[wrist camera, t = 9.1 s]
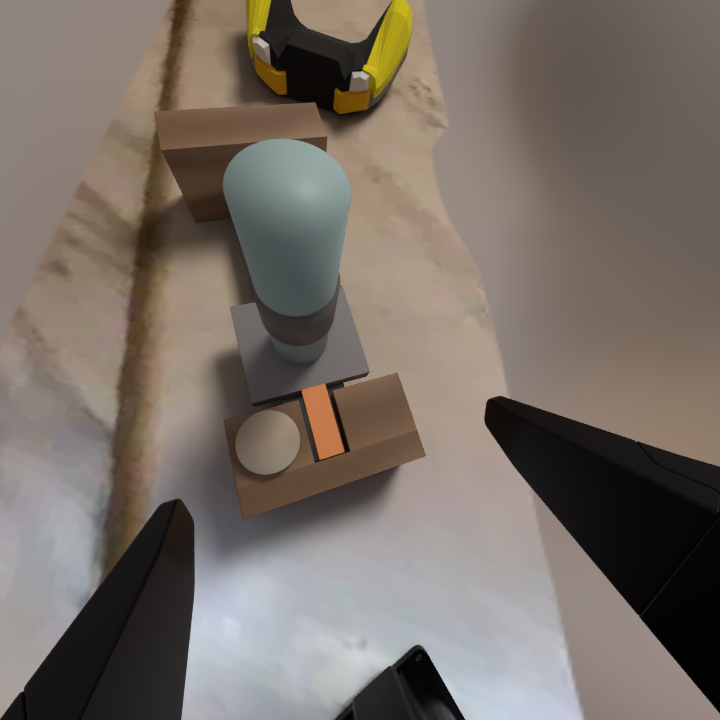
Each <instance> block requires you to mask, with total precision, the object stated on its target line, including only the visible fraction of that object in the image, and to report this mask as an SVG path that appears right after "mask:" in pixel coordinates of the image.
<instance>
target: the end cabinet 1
mask: <svg viewBox="0 0 720 720" xmlns="http://www.w3.org/2000/svg"><path fill="white" fill-rule="evenodd" d="M154 115H155V120H156V125H157V130H158V135H159V141H160V146H161V150H162V153H163V155H164V157H165V159H166V161H167V163H168V165H169V167H170V169H171V171H172V173H173V175H174V177H175V179H176V181H177V183H178V185H179V188H180V190H181V192H182V194H183V196H184V198H185V200H186V202H187V204H188V206H189V208H190V210H191V212H192V214H193V216H194V218H195V220H196V222H200V221H208V220H215V219H223V218H230V217H231V214H230V211H229V208H228V205H227V202H226V199H225V196H224V191H223V179H224V174H225V171H226V169H227V167H228V165H229V163H230V162H231V160H232V159H233V158H234V157H235V156H236V155H237V154H238V153H239V152H240V151H242V150H243V149H245V148H246V147H248V146H250V145H252V144H255V143H258V142H261V141H265V140H271V139H292V140H298V141H302V142H305V143H308V144H311V145H314V146H316V147H318V148H320V149H321V150H323V151H325V152H326V149H327V134H326V131H325V129H324V126H323V123H322V120H321V117H320V114H319V112H318V109H317V106H316V103H315V102H313V103H296V104H278V105H261V106H243V107H226V108H208V109H191V110H173V111H156V112H154Z"/></svg>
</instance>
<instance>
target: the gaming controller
mask: <svg viewBox="0 0 720 720" xmlns="http://www.w3.org/2000/svg"><path fill="white" fill-rule="evenodd" d="M246 15H247V34H248V45H249V52H250V58H251V63H252V66H253V68H254V69H255V70H256V73H257V74H258V76H259V77H260V78H261V79H262V80H263V81H264V82H265V83H266V84H267V85H268V86H269V87H270V88H271V89H272V90H273V91H275V92H276V93H277V94H279V95H284V94H287V96H290V97H293V98H296V99H300V100H303V101H306V102H309V103H313V102H315V103H316V105H318V106H322V107H325V108H328V109H331V110H335V111H336V112H337V113H338V114H345V113H349V112H358V111H366V110H367V109H368V108H369V107H371V106H373V105H374V104H376V103H377V102H378V101H379V100H380V98H381V97H382V96H383V95H384V94H385V92H386V91H387V90H388V89H389V88H390V86H391V84H392V82H393V80H394V79H395V77H396V75H397V73H398V71H399V69H400V68H401V66H402V64H403V62H404V60H405V58H406V55H407V51H408V47H409V42H410V38H411V32H412V21H413V20H412V14H411V8H410V4H408V3H407V2H406V1H404V0H392V1H391V3H390V4H389V6H388V7H387V9H386V10H385V12H384V13H383V15H382V16H381V18H380V19H379V21H378V22H377V24H376V25H375V27H374V28H373V30H372V32H371V33H370V35H369V36H368V38H367V39H366V40H363V41H361V42H359V43H349V42H346V41H343V40H340V39H337V38H334V37H331V36H328V35H325V34H322V33H319V32H316V31H313V30H311V29H308V28H306V27H305V26H304V25H303V24H301V23H300V22H299V20H298V19H297V17H296V16H295V15H294V12H293V8H292V4H291V0H246Z"/></svg>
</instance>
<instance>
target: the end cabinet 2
mask: <svg viewBox="0 0 720 720" xmlns="http://www.w3.org/2000/svg"><path fill="white" fill-rule="evenodd" d="M331 399H332V402H333V406H334V409H335V413H336V416H337V420H338V423H339V427H340V430H341V434H342V437H343V441H344V444H345V448H346V451H347V452H344V453H341V454H338V455H335V456H331V457H328V458H325V459H322V460H319V461H316V462H315V461H314V458H313V454H312V450H311V446H310V442H309V438H308V435H307V431H306V427H305V423H304V419H303V415H302V411H301V408H300V404H299V400H296V401H293V402H289V403H285V404H282V405H278V406H275V407H271V408H267V409H264V410H260V411H256V412H253V413H249V414H245V415H242V416H238V417H234V418H231V419H227V420H224V426H225V431H226V436H227V441H228V446H229V451H230V456H231V461H232V466H233V471H234V476H235V481H236V486H237V491H238V496H239V501H240V506H241V511H242V516H243V520H244V519H247V518H250V517H252V516H255V515H258V514H261V513H264V512H267V511H270V510H272V509H275V508H278V507H281V506H284V505H287V504H290V503H293V502H295V501H298V500H301V499H304V498H307V497H310V496H313V495H315V494H318V493H321V492H324V491H327V490H330V489H333V488H336V487H338V486H341V485H344V484H347V483H350V482H353V481H356V480H359V479H361V478H364V477H367V476H370V475H373V474H376V473H379V472H381V471H384V470H387V469H390V468H393V467H396V466H399V465H402V464H404V463H407V462H410V461H413V460H416V459H419V458H422V457H425V456H426V455H425V452H424V449H423V446H422V443H421V440H420V437H419V434H418V431H417V429H416V426H415V423H414V420H413V417H412V414H411V411H410V408H409V405H408V402H407V399H406V396H405V393H404V391H403V388H402V385H401V382H400V379H399V376H398V373H395V374H391V375H387V376H384V377H380V378H376V379H373V380H369V381H365V382H362V383H358V384H355V385H351V386H347V387H344V388H340V389H336V390H333V392H332V395H331Z"/></svg>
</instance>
